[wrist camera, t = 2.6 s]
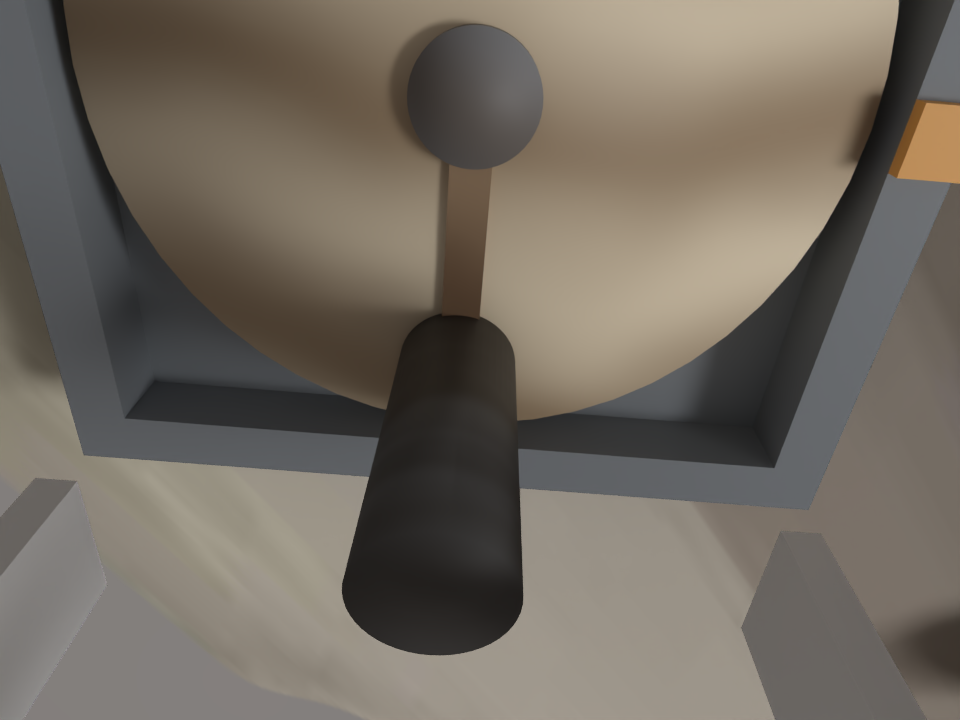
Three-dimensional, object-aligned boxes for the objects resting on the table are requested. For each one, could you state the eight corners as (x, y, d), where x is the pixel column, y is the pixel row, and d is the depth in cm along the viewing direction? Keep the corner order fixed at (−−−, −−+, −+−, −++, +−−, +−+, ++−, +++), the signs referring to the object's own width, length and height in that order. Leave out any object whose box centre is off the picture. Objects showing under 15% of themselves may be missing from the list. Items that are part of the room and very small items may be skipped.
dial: (-2, -508, 12) (-1127, -1540, 4) (1019, -408, 12) (2100, -1164, 4) (166, 370, 21) (-45, 634, 13) (742, 415, 21) (892, 700, 13)
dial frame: (-90, -636, 12) (-316, -860, 9) (1122, -516, 12) (1350, -686, 9) (137, 390, 23) (76, 463, 20) (769, 439, 24) (813, 519, 20)
